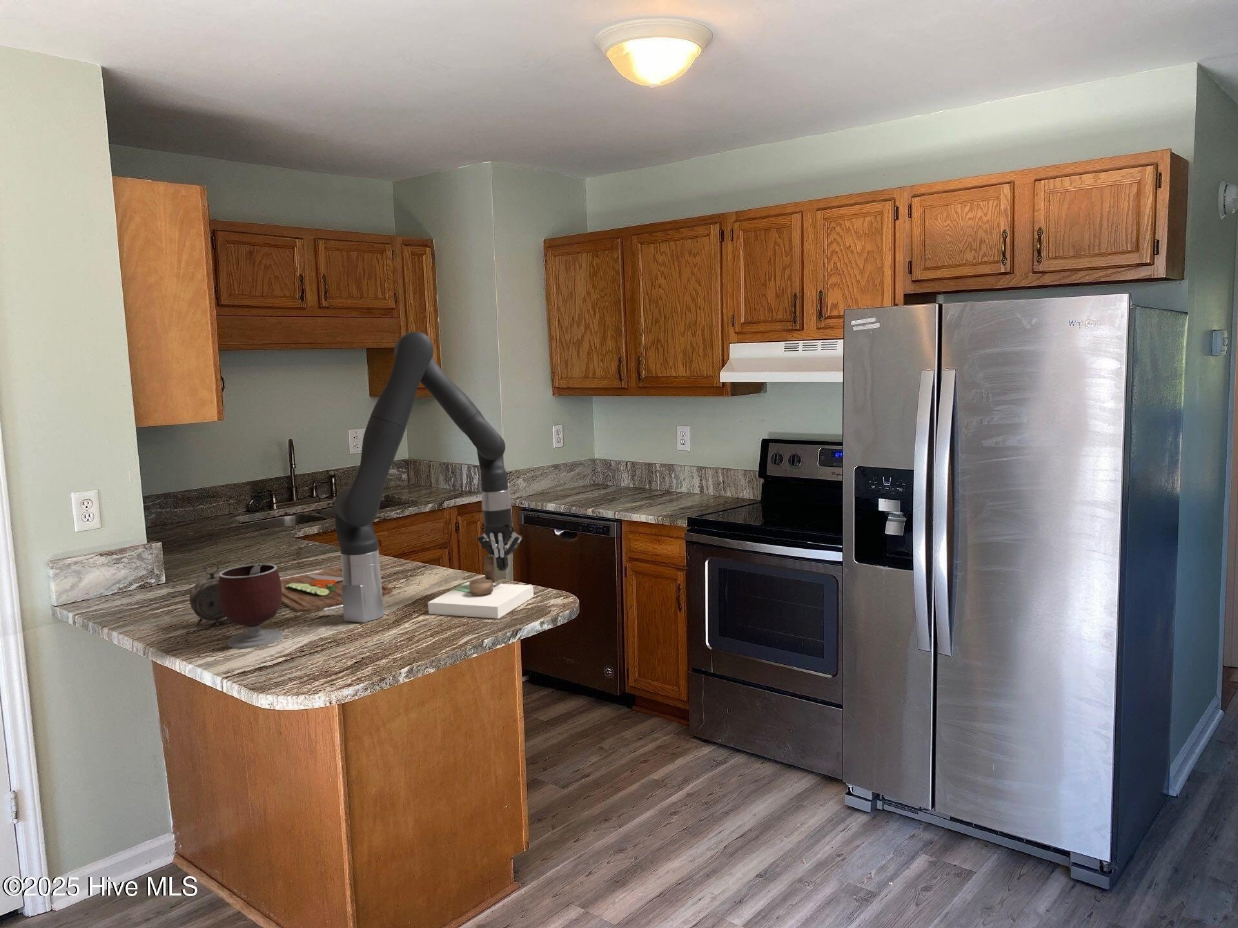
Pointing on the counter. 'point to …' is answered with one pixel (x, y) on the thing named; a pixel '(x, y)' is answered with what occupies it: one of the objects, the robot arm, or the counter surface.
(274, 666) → the counter surface
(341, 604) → the chopping board
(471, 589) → the crank handle
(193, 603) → the alarm clock
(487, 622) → the counter surface
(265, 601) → the mate gourd
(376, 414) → the robot arm
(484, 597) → the white square slab
